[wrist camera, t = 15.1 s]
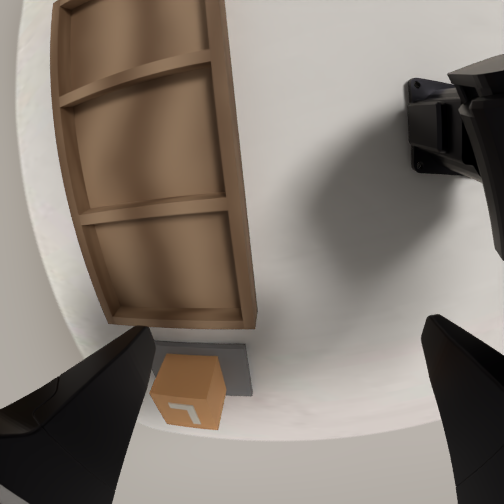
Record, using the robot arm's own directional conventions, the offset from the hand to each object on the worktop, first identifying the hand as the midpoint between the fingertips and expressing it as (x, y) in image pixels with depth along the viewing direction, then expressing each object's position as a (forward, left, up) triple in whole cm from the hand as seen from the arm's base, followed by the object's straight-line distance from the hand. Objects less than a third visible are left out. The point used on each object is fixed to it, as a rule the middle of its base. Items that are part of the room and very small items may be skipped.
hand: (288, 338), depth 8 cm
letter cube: (+9, +15, -11) cm, 21 cm away
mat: (+9, +15, -12) cm, 21 cm away
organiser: (+9, -6, -12) cm, 16 cm away
